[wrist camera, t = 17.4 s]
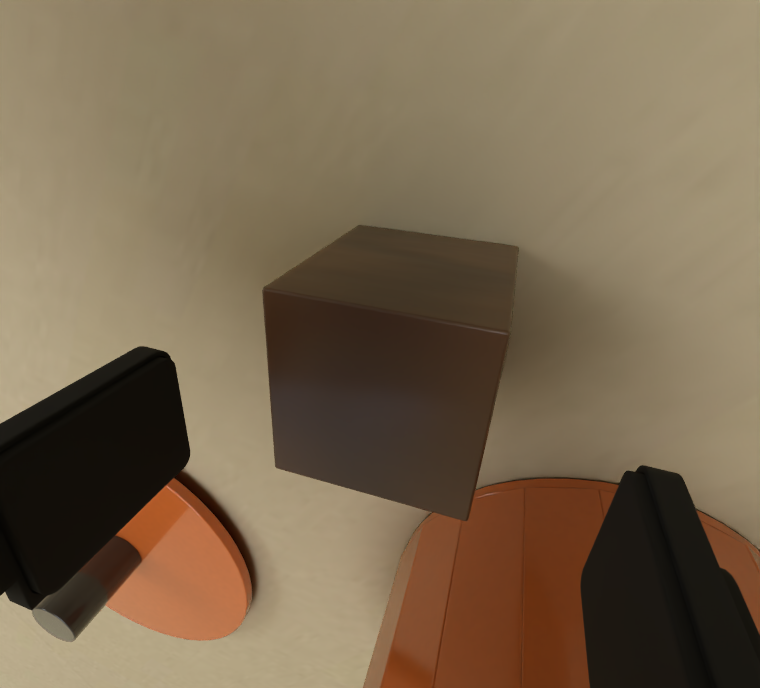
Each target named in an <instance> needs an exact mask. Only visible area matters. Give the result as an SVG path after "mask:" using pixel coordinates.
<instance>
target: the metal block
mask: <svg viewBox="0 0 760 688" xmlns="http://www.w3.org/2000/svg"><path fill="white" fill-rule="evenodd" d="M518 252H519V248H518V247H517V246H510V245H503V244H496V243H488V242H481V241H473V240H466V239H459V238H451V237H444V236H437V235H429V234H422V233H415V232H407V231H400V230H393V229H385V228H378V227H371V226H363V225H358V226H357V227H355V228H354V229H352V230H351V231H349V232H348V233H346V234H345V235H343V236H341V237H340V238H338V239H337V240H335V241H334V242H332V243H331V244H329V245H328V246H326V247H325V248H323V249H322V250H320V251H319V252H317V253H315V254H314V255H312V256H311V257H309V258H308V259H306V260H305V261H303V262H302V263H300V264H299V265H297V266H296V267H294V268H293V269H291V270H289V271H288V272H286V273H285V274H283V275H282V276H280V277H279V278H277V279H276V280H274V281H273V282H271V283H270V284H268V285H267V286H265V287H264V288H263V290H262V291H263V305H264V319H265V332H266V346H267V360H268V373H269V387H270V401H271V414H272V428H273V442H274V456H275V467H276V468H278V469H282V470H285V471H289V472H292V473H296V474H299V475H303V476H306V477H310V478H313V479H317V480H321V481H324V482H328V483H331V484H335V485H338V486H342V487H345V488H349V489H352V490H356V491H360V492H363V493H367V494H370V495H374V496H377V497H381V498H384V499H388V500H391V501H395V502H399V503H402V504H406V505H409V506H413V507H416V508H420V509H423V510H427V511H430V512H434V513H438V514H441V515H445V516H448V517H452V518H455V519H459V520H462V521H467V520H468V519H469V515H470V511H471V506H472V502H473V498H474V493H475V489H476V484H477V480H478V476H479V471H480V467H481V462H482V458H483V454H484V449H485V445H486V440H487V436H488V432H489V427H490V423H491V418H492V414H493V410H494V405H495V401H496V396H497V392H498V388H499V383H500V379H501V374H502V370H503V366H504V361H505V357H506V352H507V348H508V344H509V339H510V335H511V325H512V314H513V304H514V294H515V283H516V273H517V262H518Z"/></svg>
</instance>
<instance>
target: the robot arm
mask: <svg viewBox="0 0 760 688" xmlns="http://www.w3.org/2000/svg"><path fill="white" fill-rule="evenodd" d="M189 458H190V447H189V441H188V436H187V430H186V424H185V418H184V413H183V407H182V401H181V395H180V390H179V384H178V378H177V372H176V367H175V363H174V362H173V361H172V360H171V358H170V356H169V354H168V353H166V352H164V351H161V350H157V349H152V348H148V347H141V346H140V347H137V348H135V349H133V350H131V351H129V352H127V353H126V354H124V355H122V356H120V357H119V358H117V359H115V360H113V361H111V362H110V363H108V364H106V365H104V366H103V367H101V368H99V369H97V370H95V371H94V372H92V373H90V374H88V375H86V376H85V377H83V378H81V379H79V380H78V381H76V382H74V383H72V384H70V385H69V386H67V387H65V388H63V389H62V390H60V391H58V392H56V393H54V394H53V395H51V396H49V397H47V398H46V399H44V400H42V401H40V402H38V403H37V404H35V405H33V406H31V407H29V408H28V409H26V410H24V411H22V412H21V413H19V414H17V415H15V416H13V417H12V418H10V419H8V420H6V421H5V422H3V423H1V424H0V595H2V594H3V593H4V592H6V594H7V596H8V598H9V600H10V601H12V602H14V603H16V604H18V605H21V606H23V607H25V608H27V609H30V610H33V609H34V608H35V607H36V606H37V605H38V604H39V603H40V602H41V601H42V600H43V599H44V598H45V597H46V596H47V595H52V594H53V593H55V592H57V591H58V590H59V589H61V588H62V587H63V586H64V585H65V584H66V583H67V582H68V581H69V580H70V579H71V578H72V577H73V576H74V575H75V574H76V573H77V572H78V571H79V570H80V569H81V568H82V567H83V566H84V565H85V564H86V563H87V562H88V561H89V560H90V559H91V558H92V557H93V556H95V555H96V554H97V553H98V552H99V551H100V550H101V549H102V548H103V547H104V546H105V545H106V544H107V543H108V542H109V541H110V540H111V539H112V538H113V537H114V536H115V535H116V534H117V533H118V532H119V531H120V530H121V529H122V528H123V527H124V526H125V525H126V524H127V523H128V522H129V521H130V520H131V519H132V518H133V517H134V516H135V515H136V514H137V513H138V512H139V511H140V510H141V509H142V508H144V507H145V506H146V505H147V504H148V503H149V502H150V501H151V500H152V499H153V498H154V497H155V496H156V495H157V494H158V493H159V492H160V491H161V490H162V489H163V488H164V487H165V486H166V485H167V484H168V483H169V482H170V481H171V480H172V479H173V478H174V477H175V476H176V475H177V474H178V473H179V472H180V471H181V470H182V469H183V468H184V467H185V466H186V464H187V463H188V461H189ZM580 590H581V601H582V612H583V622H584V633H585V643H586V653H587V664H588V674H589V685H590V688H760V634H759V632H758V630H757V627H756V625H755V623H754V620H753V618H752V616H751V614H750V611H749V609H748V607H747V604H746V602H745V600H744V598H743V595H742V593H741V591H740V589H739V586H738V584H737V583H736V581H735V579H734V578H733V576H732V575H731V574H730V573H729V572H728V571H727V570H726V569H723V568H720V566H719V564H718V562H717V559H716V557H715V554H714V552H713V550H712V547H711V545H710V542H709V540H708V537H707V535H706V533H705V530H704V528H703V525H702V523H701V521H700V518H699V516H698V513H697V511H696V509H695V506H694V504H693V501H692V499H691V497H690V494H689V492H688V489H687V487H686V484H685V482H684V480H683V478H682V476H681V475H679V474H678V473H673V472H669V471H665V470H661V469H657V468H652V467H648V466H644V465H642V466H640V467H639V468H638V469H637V470H636V472H633V471H626V472H625V473H624V475H623V477H622V479H621V481H620V484H619V486H618V488H617V491H616V493H615V495H614V498H613V500H612V502H611V505H610V507H609V509H608V512H607V514H606V516H605V519H604V521H603V523H602V526H601V528H600V530H599V533H598V535H597V537H596V540H595V542H594V544H593V547H592V549H591V551H590V554H589V556H588V558H587V561H586V563H585V565H584V568H583V571H582V575H581V583H580Z"/></svg>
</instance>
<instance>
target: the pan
mask: <svg viewBox="0 0 760 688" xmlns="http://www.w3.org/2000/svg"><path fill="white" fill-rule="evenodd" d="M618 486H619V485H616V484H611V483H606V482H600V481H590V480H581V479H563V478H540V479H528V480H517V481H511V482H506V483H500V484H495V485H490V486H487V487H484V488H481V489H478V490H475V493H474V498H473V502H472V506H471V511H470V515H469V519H468V520H467V521H462V520H459V519H455V518H452V517H448V516H445V515H441V514H438V513H434V512H433V513H432V514H430V515H429V516H428V517H427V518H426V519H425V520H424V521H423V522H422V523H421V524H420V525H419V527H418V528H417V529H416V531H415V532H414V533H413V535H412V536H411V538H410V540H409V542H408V545H407V547H406V549H405V551H404V552H403V554H402V556H401V559H400V563H399V566H398V570H397V573H396V577H395V580H394V583H393V587H392V590H391V594H390V597H389V600H388V604H387V607H386V611H385V614H384V617H383V621H382V624H381V628H380V631H379V634H378V638H377V641H376V645H375V648H374V651H373V655H372V658H371V662H370V665H369V668H368V672H367V675H366V679H365V682H364V685H363V688H590V685H589V674H588V664H587V653H586V643H585V633H584V622H583V612H582V601H581V590H580V583H581V575H582V571H583V568H584V565H585V563H586V561H587V558H588V556H589V554H590V551H591V549H592V547H593V544H594V542H595V540H596V537H597V535H598V533H599V530H600V528H601V526H602V523H603V521H604V519H605V516H606V514H607V512H608V509H609V507H610V505H611V502H612V500H613V498H614V495H615V493H616V491H617V488H618ZM696 511H697V513H698V516H699V518H700V521H701V523H702V525H703V528H704V530H705V533H706V535H707V537H708V540H709V542H710V545H711V547H712V550H713V552H714V554H715V557H716V559H717V562H718V564H719V566H720V568H723V569H726V570H727V571H728V572H729V573H730V574H731V575H732V576H733V578H734V579H735V581H736V583H737V584H738V586H739V589H740V591H741V593H742V595H743V598H744V600H745V602H746V604H747V607H748V609H749V611H750V614H751V616H752V618H753V620H754V623H755V625H756V627H757V630H758V632H759V634H760V551H759V550H758V549H757V548H755V547H754V546H753V545H752V544H751V543H750V542H749V541H747V540H746V539H745V538H743V537H742V536H740V535H739V534H737V533H736V532H734V531H733V530H731V529H730V528H728V527H727V526H725V525H724V524H722V523H721V522H719V521H717V520H715V519H713V518H711V517H709V516H707V515H705V514H703V513H702V512H700V511H698V510H696Z"/></svg>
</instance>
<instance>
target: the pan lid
mask: <svg viewBox="0 0 760 688" xmlns="http://www.w3.org/2000/svg"><path fill="white" fill-rule="evenodd" d="M251 600H252V585H251V580H250V576H249V572H248V569H247V566H246V564H245V561H244V559H243V557H242V555H241V553H240V551H239V549H238V547H237V545H236V544H235V542H234V541H233V539H232V538H231V536H230V535H229V533H228V532H227V530H226V529H225V528H224V527H223V525H222V524H221V523H220V522H219V520H218V519H217V518H216V517H215V515H214V514H213V513H212V512H211V511H210V510H209V509H208V508H207V507H206V506H205V505H204V504H203V503H202V502H201V501H200V500H199V499H198V498H197V497H196V496H195V495H194V494H193V493H192V492H191V491H189V490H188V489H187V488H186V487H185V486H184V485H182V484H181V483H180V482H179V481H177V480H176V479H175V478H173V479H172V480H171V481H170V482H169V483H168V484H167V485H166V486H165V487H164V488H163V489H162V490H161V491H160V492H159V493H158V494H157V495H156V496H155V497H154V498H153V499H152V500H151V501H150V502H149V503H148V504H147V505H146V506H145V507H144V508H142V509H141V510H140V511H139V512H138V513H137V514H136V515H135V516H134V517H133V518H132V519H131V520H130V521H129V522H128V523H127V524H126V525H125V526H124V527H123V528H122V529H121V530H120V531H119V532H118V533H117V534H116V535H115V536H114V537H113V538H112V539H111V540H110V541H109V542H108V543H107V544H106V545H105V546H104V547H103V548H102V549H101V550H100V551H99V552H98V553H97V554H96V555H95V556H93V557H92V558H91V559H90V560H89V561H88V562H87V563H86V564H85V565H84V566H83V567H82V568H81V569H80V570H79V571H78V572H77V573H76V574H75V575H74V576H73V577H72V578H71V579H70V580H69V581H68V582H67V583H66V584H65V585H64V586H63V587H62V588H61V589H59V590H58V591H57V592H55V593H53V594H52V595H47V596H46V597H45V598H44V599H43V600H42V601H41V602H40V603H39V604H38V605H37V606H36V607H35V608H34V609H33V610H32V614H33V617H34V618H35V620H36V621H37V623H38V624H39V625H40V626H41V627H42V628H43V629H45V630H46V631H47V632H48V633H50V634H51V635H53V636H55V637H56V638H58V639H61V640H63V641H67V642H73V641H74V640H75V639H76V638H77V637H78V636H79V635H80V634H81V632H82V631H83V630H84V629H85V628H86V627H87V626H88V624H89V623H90V622H91V621H92V620H93V619H94V617H95V616H96V615H97V614H98V613H99V612H100V610H101V609H102V608H103V607H104V606H105V605H106V606H107V607H109V608H110V609H112V610H114V611H115V612H117V613H119V614H121V615H122V616H124V617H126V618H128V619H130V620H132V621H134V622H136V623H138V624H140V625H142V626H145V627H147V628H149V629H152V630H155V631H157V632H160V633H163V634H166V635H170V636H173V637H178V638H183V639H188V640H214V639H219V638H222V637H225V636H227V635H229V634H231V633H232V632H234V631H235V630H236V629H237V628H238V627H239V626H240V625H241V624H242V622H243V620H244V619H245V617H246V615H247V613H248V611H249V609H250V605H251Z"/></svg>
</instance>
